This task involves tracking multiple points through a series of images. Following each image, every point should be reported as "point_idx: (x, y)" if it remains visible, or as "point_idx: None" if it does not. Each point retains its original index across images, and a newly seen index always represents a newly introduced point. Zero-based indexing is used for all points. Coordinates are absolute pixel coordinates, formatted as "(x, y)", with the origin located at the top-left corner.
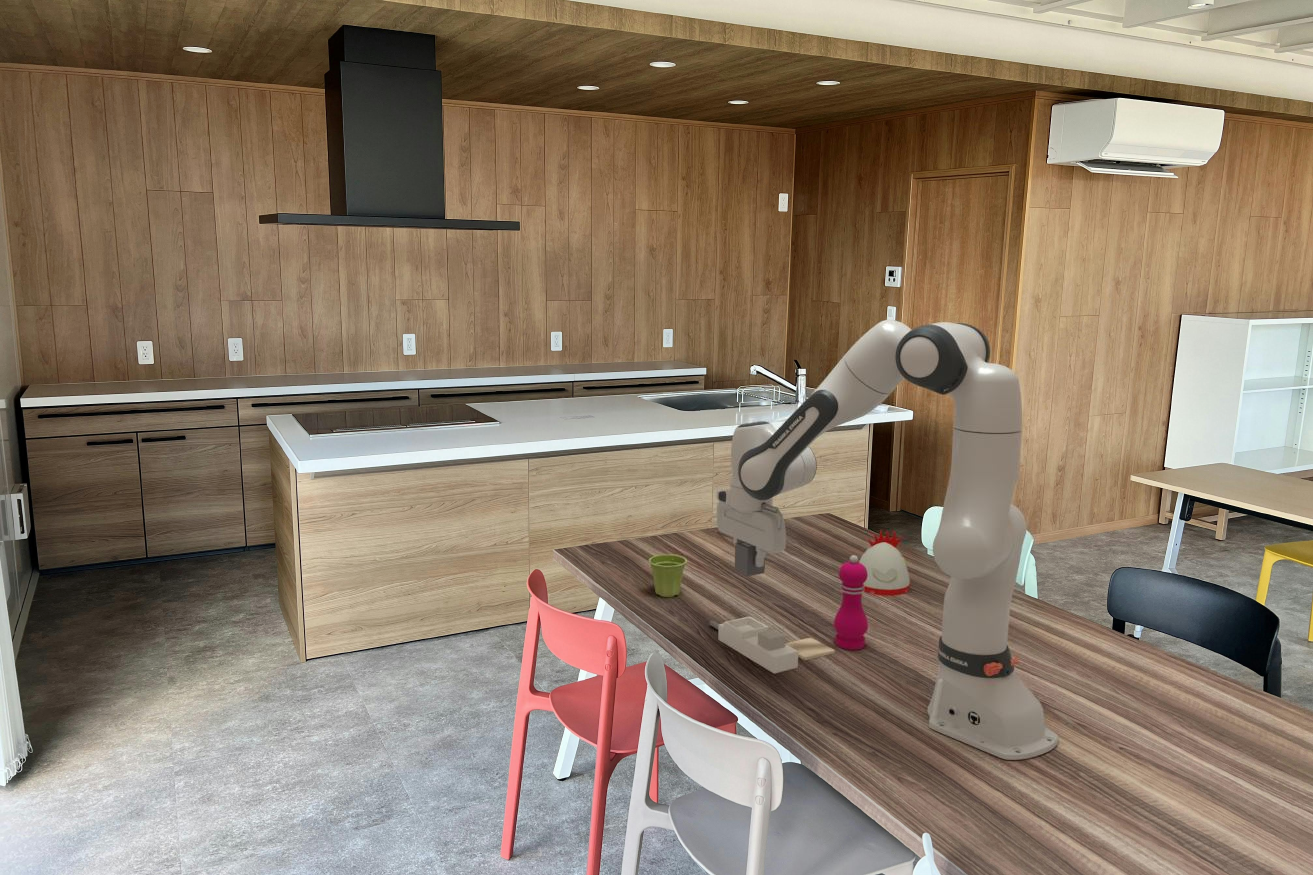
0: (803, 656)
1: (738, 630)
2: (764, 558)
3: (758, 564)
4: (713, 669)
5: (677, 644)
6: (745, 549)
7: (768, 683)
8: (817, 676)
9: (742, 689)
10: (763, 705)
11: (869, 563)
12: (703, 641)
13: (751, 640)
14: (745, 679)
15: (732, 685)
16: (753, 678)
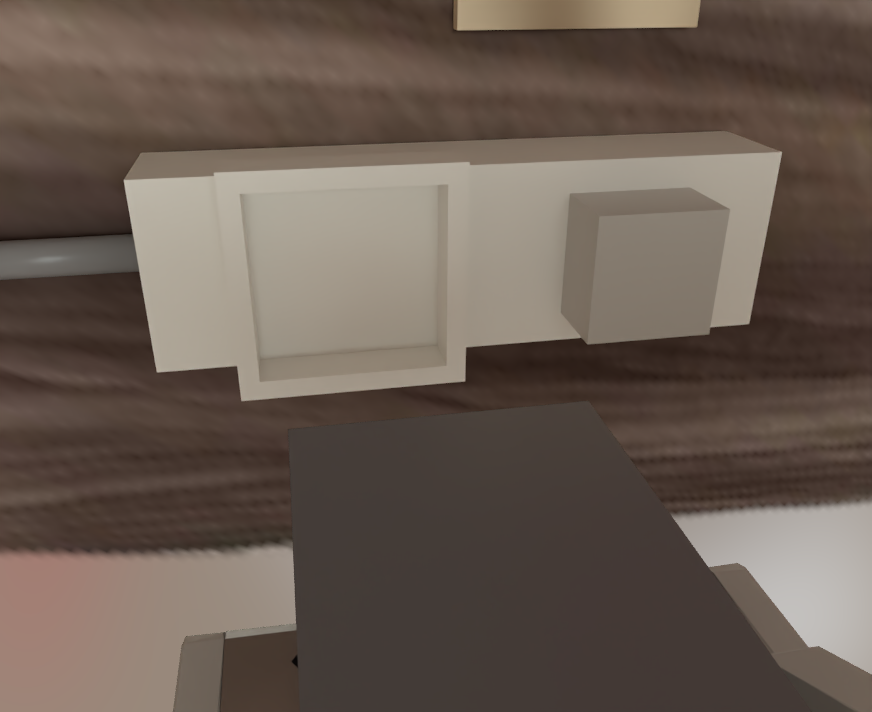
0: (677, 23)
1: (420, 383)
2: (683, 541)
3: None
4: None
5: (149, 541)
6: None
7: (755, 364)
8: (862, 103)
9: (725, 483)
10: (869, 475)
11: None
12: (161, 411)
13: (495, 316)
14: (664, 432)
15: (674, 502)
16: (678, 397)
